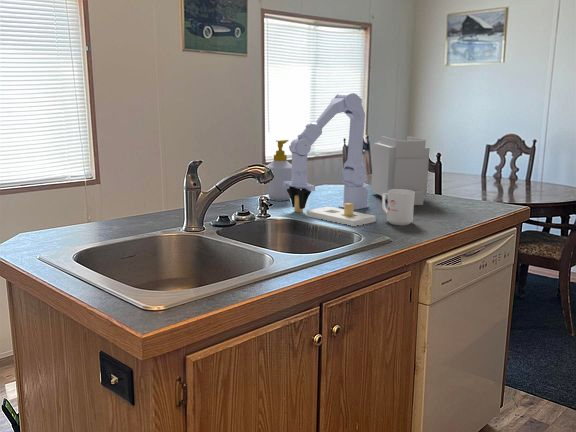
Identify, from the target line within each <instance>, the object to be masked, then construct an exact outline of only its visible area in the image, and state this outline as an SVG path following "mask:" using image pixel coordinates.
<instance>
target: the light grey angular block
mask: <svg viewBox="0 0 576 432" xmlns="http://www.w3.org/2000/svg"><path fill="white" fill-rule="evenodd" d="M426 141H427V139H424V138H421V137H420V138H419V137H415V136H410V135H409V136H408V135H407V137H406V140H398V139H396V138H391V137H387V136H384V135H381V136H380V141H379V140H378V141H377V142H373V149H372V170H371V172H372V173H371V188H370V189H371V190H370V191H372V192H373V193H376V194H377V195H379V196H381V198H382V193H388V191H389V190H392V189H405V190H411V191H414V192H415V195H414V206H424V201H425V200H424V199H425V198H424V197H427V191H428V190H427V189H428V177H429V165H430V163H429V161H430V150H431V149H430V147H427V146H426V143H427V142H426ZM385 201H387V202H388V194H386V195H385Z"/></svg>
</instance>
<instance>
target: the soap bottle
mask: <svg viewBox="0 0 576 432" xmlns="http://www.w3.org/2000/svg"><path fill="white" fill-rule="evenodd" d="M275 142H277V148H278V149H277V150H276V151H275V154H273V160H272V161H271V162H270V163H268V164H267V165H265V166H267V167H269V168H270V169H271V170H272V171H273V174H274V179H273V180H272V181H271V182H269V183H268V197H269V199H270V200H271V201H276V202H284V201H285V202H286V201H288V200H291V198H290V196H289V194H288V192H287V189H289V187H284V181H292V163H290V162H289V161H288V159H287V157H288V156H287V154H285V150H283V147H284V144H286V143H288V142H289V139H281V140H275Z"/></svg>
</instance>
